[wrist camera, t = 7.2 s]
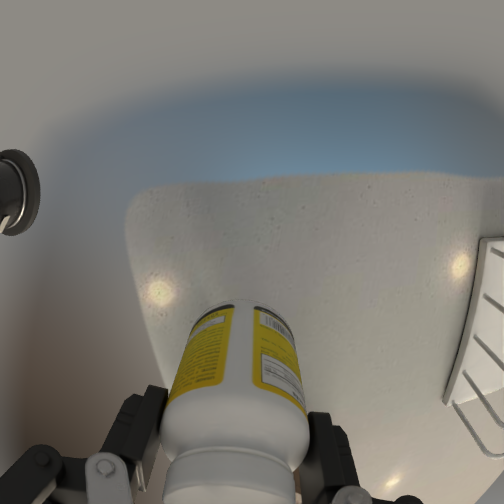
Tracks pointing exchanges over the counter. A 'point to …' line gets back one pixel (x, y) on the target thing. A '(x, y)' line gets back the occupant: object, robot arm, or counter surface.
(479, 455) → the counter surface
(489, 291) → the file sorter
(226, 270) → the counter surface
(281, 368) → the supplement bottle
